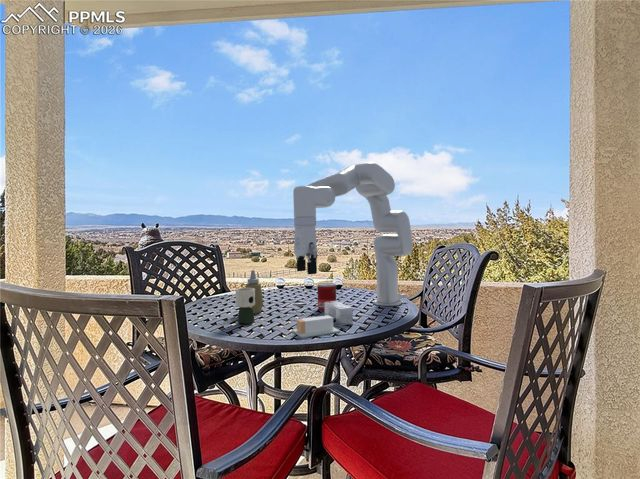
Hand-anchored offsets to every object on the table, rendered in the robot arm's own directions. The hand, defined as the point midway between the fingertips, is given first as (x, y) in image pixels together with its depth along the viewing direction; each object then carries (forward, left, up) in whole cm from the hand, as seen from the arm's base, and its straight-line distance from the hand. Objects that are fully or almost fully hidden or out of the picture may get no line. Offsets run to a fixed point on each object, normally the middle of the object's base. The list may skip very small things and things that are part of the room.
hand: (306, 272), depth 133 cm
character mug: (+17, -21, -21) cm, 34 cm away
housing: (-16, -8, -21) cm, 27 cm away
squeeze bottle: (+10, -37, -21) cm, 44 cm away
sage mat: (-2, +2, -21) cm, 21 cm away
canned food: (-20, -28, -21) cm, 41 cm away
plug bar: (-2, +2, -20) cm, 20 cm away
